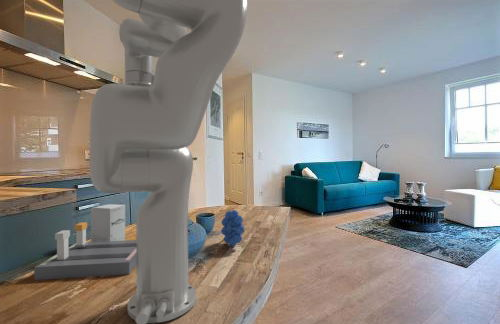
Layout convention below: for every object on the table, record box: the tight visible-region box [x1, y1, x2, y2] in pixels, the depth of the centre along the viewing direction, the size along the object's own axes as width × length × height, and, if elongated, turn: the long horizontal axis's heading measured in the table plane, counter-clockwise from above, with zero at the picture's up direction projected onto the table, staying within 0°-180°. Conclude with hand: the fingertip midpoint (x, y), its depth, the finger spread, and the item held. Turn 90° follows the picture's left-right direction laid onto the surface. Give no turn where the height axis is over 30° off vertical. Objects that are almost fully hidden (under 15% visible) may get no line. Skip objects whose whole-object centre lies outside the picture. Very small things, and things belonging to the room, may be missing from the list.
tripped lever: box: [74, 221, 89, 248], centre depth 69 cm, size 3×2×6 cm
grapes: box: [220, 209, 245, 247], centre depth 79 cm, size 12×7×12 cm, turn 38°
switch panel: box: [33, 229, 137, 281], centre depth 66 cm, size 17×21×10 cm
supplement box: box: [90, 203, 126, 242], centre depth 81 cm, size 7×7×13 cm
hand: (140, 143), depth 67 cm, fingers open, 9 cm apart
